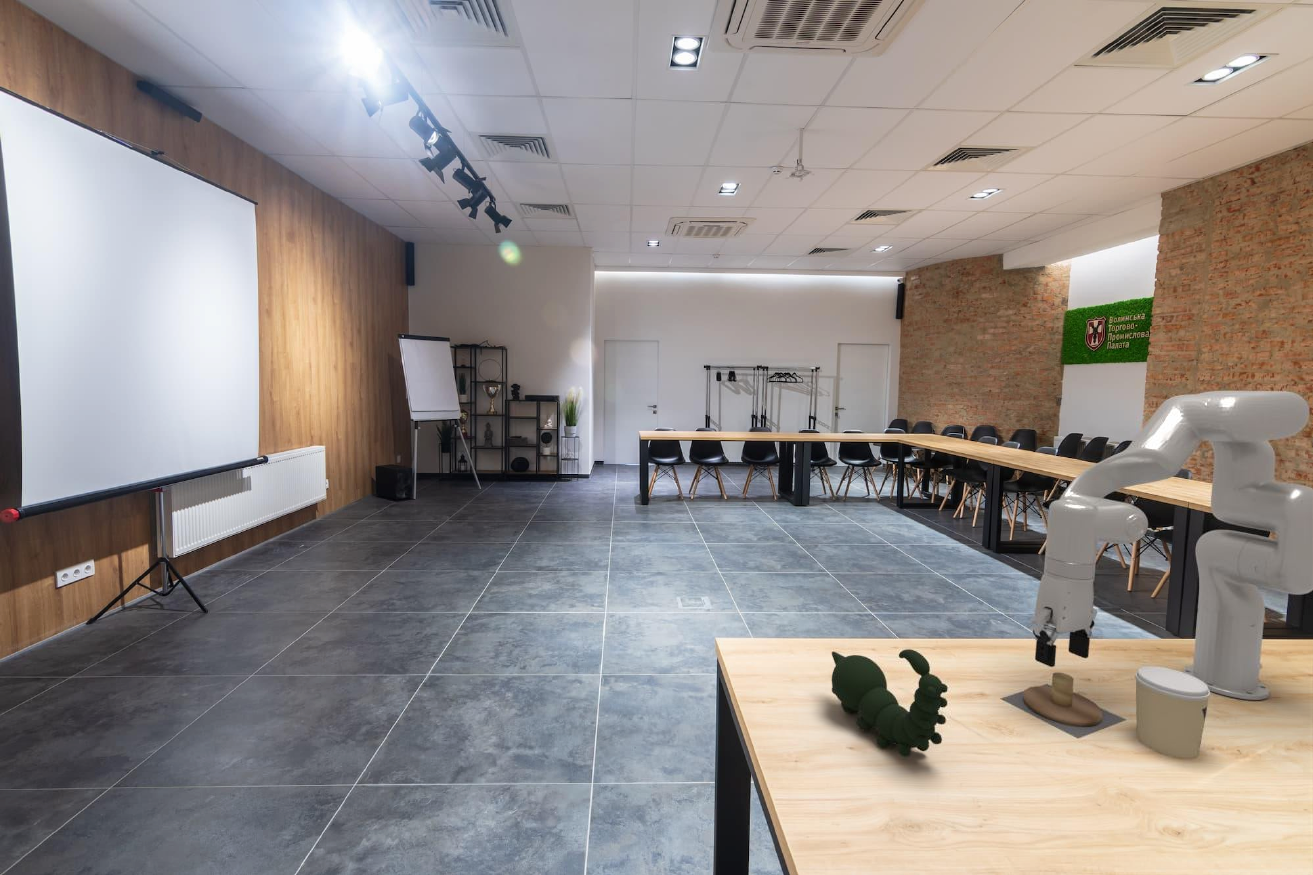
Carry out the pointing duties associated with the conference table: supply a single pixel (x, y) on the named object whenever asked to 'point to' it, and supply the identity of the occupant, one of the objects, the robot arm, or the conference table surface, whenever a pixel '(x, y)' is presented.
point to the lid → (1062, 703)
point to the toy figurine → (890, 701)
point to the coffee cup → (1170, 711)
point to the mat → (1077, 732)
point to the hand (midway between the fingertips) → (1061, 659)
